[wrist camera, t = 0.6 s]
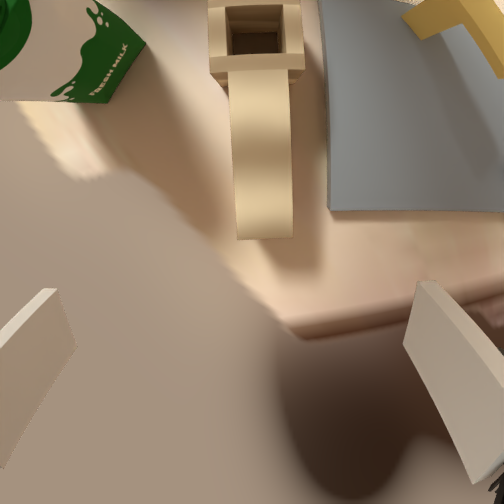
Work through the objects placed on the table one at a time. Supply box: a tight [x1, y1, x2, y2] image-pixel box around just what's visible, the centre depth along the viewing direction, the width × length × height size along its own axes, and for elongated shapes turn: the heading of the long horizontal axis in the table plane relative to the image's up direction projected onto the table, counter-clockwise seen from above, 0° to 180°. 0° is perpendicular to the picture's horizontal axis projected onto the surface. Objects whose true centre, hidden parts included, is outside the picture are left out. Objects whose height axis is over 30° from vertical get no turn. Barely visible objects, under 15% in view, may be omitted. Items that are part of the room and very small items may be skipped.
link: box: [207, 0, 305, 240], centre depth 23 cm, size 18×6×7 cm, turn 3°
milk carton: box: [0, 0, 146, 104], centre depth 14 cm, size 9×9×20 cm
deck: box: [318, 0, 504, 212], centre depth 20 cm, size 21×27×11 cm
